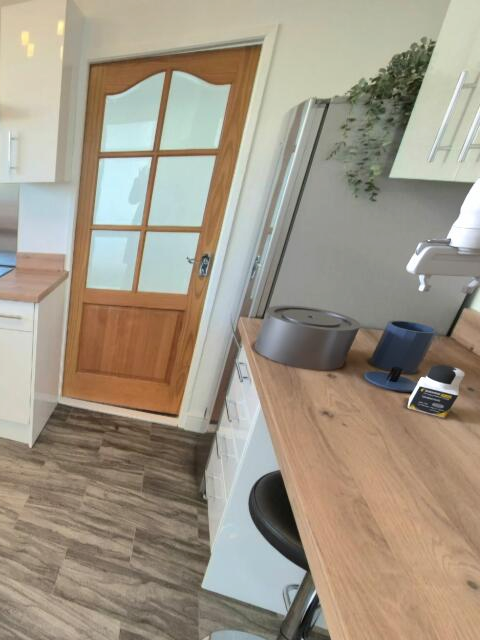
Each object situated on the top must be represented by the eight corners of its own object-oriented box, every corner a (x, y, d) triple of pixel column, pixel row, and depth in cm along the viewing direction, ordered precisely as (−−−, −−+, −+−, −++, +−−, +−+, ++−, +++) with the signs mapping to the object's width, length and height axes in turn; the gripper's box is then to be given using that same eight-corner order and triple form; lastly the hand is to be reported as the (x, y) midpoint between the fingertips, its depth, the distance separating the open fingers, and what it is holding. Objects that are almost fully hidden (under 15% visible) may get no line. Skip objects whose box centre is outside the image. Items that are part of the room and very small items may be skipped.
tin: (405, 362, 141) (425, 323, 134) (423, 376, 131) (446, 335, 125) (363, 356, 144) (381, 318, 138) (378, 370, 135) (398, 330, 129)
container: (361, 372, 133) (380, 332, 127) (273, 366, 137) (287, 327, 131) (317, 343, 155) (332, 307, 149) (243, 338, 159) (254, 303, 153)
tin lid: (405, 378, 130) (414, 363, 127) (426, 397, 120) (436, 380, 117) (356, 372, 134) (363, 357, 131) (373, 389, 124) (381, 373, 121)
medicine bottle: (407, 408, 114) (429, 367, 109) (408, 399, 119) (430, 359, 113) (444, 418, 110) (469, 377, 104) (445, 408, 114) (469, 368, 109)
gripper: (429, 239, 110) (405, 292, 116) (531, 242, 105) (500, 297, 111) (414, 236, 116) (391, 286, 122) (510, 238, 111) (481, 291, 117)
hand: (444, 292), depth 117 cm, fingers open, 8 cm apart
